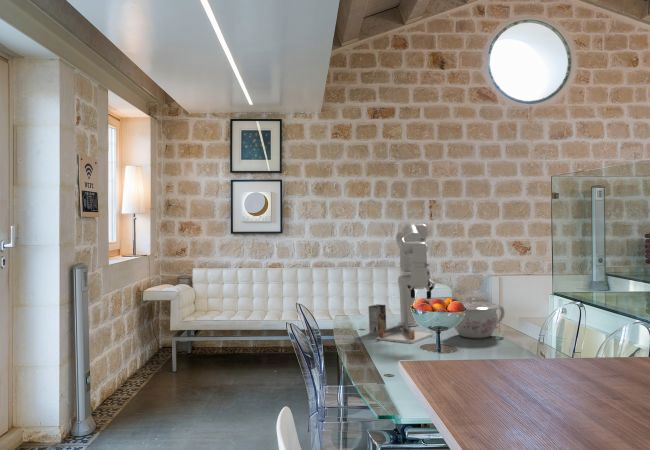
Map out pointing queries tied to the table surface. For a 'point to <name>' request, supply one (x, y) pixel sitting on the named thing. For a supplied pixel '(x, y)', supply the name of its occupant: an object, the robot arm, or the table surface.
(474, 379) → the table surface
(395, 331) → the tong base
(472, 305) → the chamber pot
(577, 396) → the table surface
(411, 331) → the tong arm
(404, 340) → the plate
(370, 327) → the coffee box
